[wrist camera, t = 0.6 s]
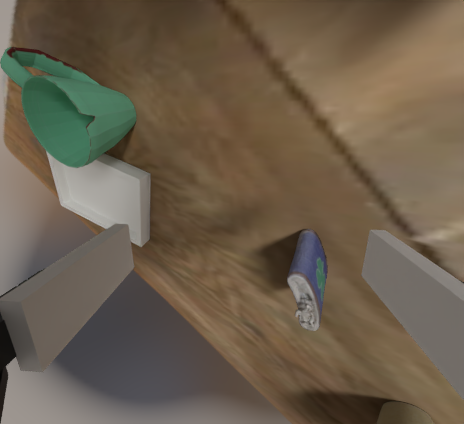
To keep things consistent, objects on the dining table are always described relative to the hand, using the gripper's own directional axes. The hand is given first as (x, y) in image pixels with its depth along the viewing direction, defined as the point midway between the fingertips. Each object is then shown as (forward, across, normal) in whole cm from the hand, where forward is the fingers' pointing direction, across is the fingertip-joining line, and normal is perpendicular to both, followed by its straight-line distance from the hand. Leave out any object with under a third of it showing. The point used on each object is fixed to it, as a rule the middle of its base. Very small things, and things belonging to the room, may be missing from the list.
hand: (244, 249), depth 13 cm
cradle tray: (+30, -26, -3) cm, 40 cm away
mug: (+24, -20, +11) cm, 33 cm away
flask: (+19, +10, -10) cm, 24 cm away
